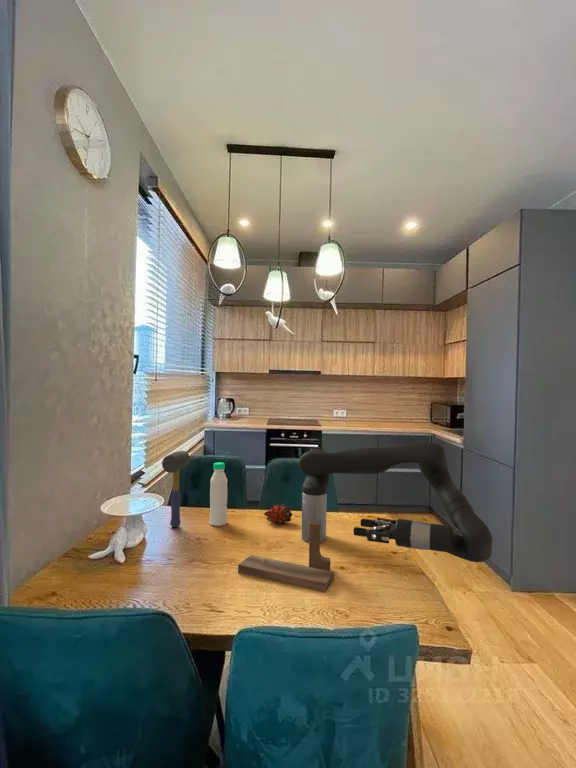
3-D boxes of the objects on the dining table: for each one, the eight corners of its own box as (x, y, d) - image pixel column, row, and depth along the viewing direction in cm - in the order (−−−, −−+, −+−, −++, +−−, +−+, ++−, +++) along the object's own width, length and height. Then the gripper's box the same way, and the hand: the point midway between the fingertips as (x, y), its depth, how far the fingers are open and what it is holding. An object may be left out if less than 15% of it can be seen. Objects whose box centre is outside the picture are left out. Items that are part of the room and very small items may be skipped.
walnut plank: (250, 562, 133) (250, 554, 133) (334, 580, 122) (334, 571, 122) (238, 572, 126) (238, 564, 126) (325, 592, 115) (325, 583, 115)
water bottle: (225, 526, 167) (226, 464, 167) (207, 526, 167) (208, 464, 167) (228, 521, 174) (229, 461, 174) (211, 520, 174) (212, 461, 174)
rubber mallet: (173, 521, 172) (174, 449, 172) (190, 522, 171) (191, 450, 171) (159, 531, 160) (160, 454, 160) (177, 533, 158) (178, 455, 159)
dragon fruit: (293, 529, 169) (265, 531, 172) (295, 512, 176) (268, 514, 179) (289, 516, 165) (260, 518, 167) (291, 499, 172) (263, 501, 174)
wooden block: (308, 572, 127) (309, 523, 127) (308, 568, 130) (309, 520, 130) (330, 573, 126) (331, 524, 126) (329, 569, 130) (330, 521, 130)
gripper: (416, 514, 124) (362, 507, 130) (410, 528, 111) (351, 520, 117) (416, 539, 124) (362, 531, 130) (410, 556, 111) (351, 547, 117)
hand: (357, 526), depth 124 cm, fingers open, 8 cm apart
